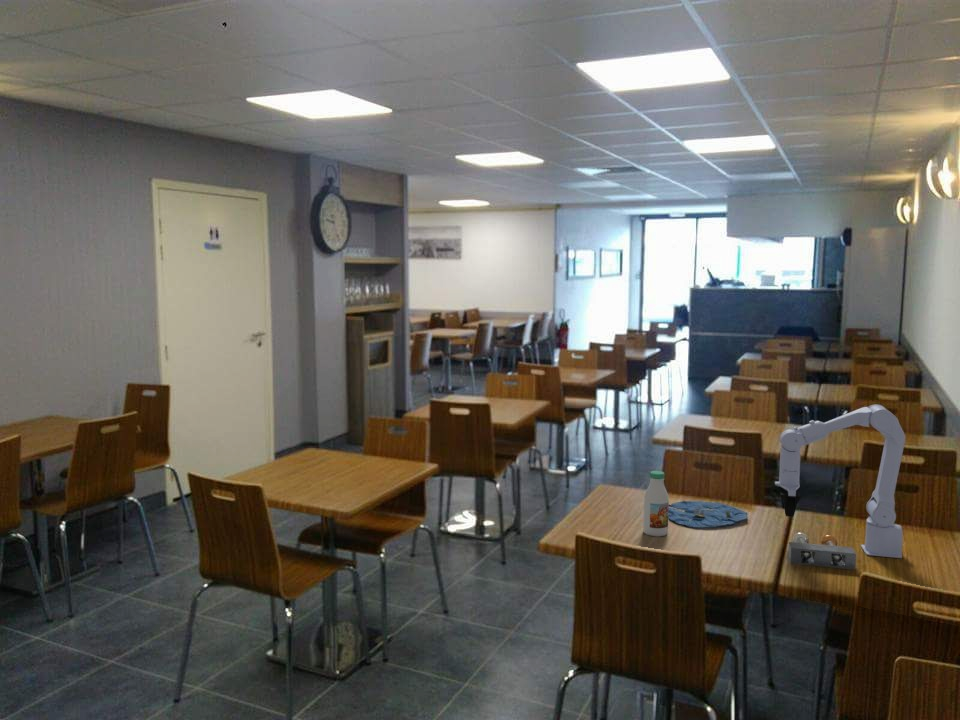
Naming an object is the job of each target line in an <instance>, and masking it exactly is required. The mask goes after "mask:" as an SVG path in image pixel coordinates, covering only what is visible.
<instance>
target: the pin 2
mask: <svg viewBox="0 0 960 720" xmlns="http://www.w3.org/2000/svg"><path fill="white" fill-rule="evenodd" d="M820 545H830V546H839V545H838V541H837V539H836V537H835V536H833V535H831V534H826V535H823V537H821V539H820ZM831 559H833V560H834V561H835V562H840V561H841V560H842V555H841V554H832V557H831Z"/></svg>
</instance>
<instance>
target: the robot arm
mask: <svg viewBox="0 0 960 720" xmlns="http://www.w3.org/2000/svg"><path fill="white" fill-rule="evenodd" d="M856 425H857V426H862V427H867V428H870V425H871V427H872V428H874V429H876V431H877V432H879V433H880V434H881V435H882V436H883V437H884V445H883V448H882V454H881V458H880V459H881V460H880V464H879V470H878V475H877V479H876V484H875V489H874V490H873V491H872V494H871V498H870V499H869V500H868V501H867V502H866V506H865V509H866V512H867V513H868V515H869V516H868V517H867V518H866V522H865V538H864V540H865V542H864V544H861V545H860V547H861V548H862V550H863V551H864V553H865V555H867V556H876V557H886V558H896V559H902V558H903V556H902V552H903V551H902V550H903V537H904V535H903V534H904V533H903V528H902V526H901V525H900V524H897V523H895V522H896V519H897V513H896V511H895V507H896V502H895V500H896V499H895V493H896V487H897V484H898V483H897V482H898V477H899V472H900V466H901V462H902V458H903V452H904V448H905V442H906V434H905V432H904V430H903V428H902V426H901V424H900V422H899V419H898V417H896V415H894V414H893V413H892V412H891V411H890V410H888V409H887V408H886V407H884V406H883V405H882V404H871V405H869V406H863V407H860V408H858V409H855V410H853V411H850V412H848V413H845V414H842V415H840V416H837V417H835V418H833V419H829V420H828V421H825V422H823V421H820V420H813V419H811V420H809V423H807V424H804V425H801V426H799V427H798V426H796V425H795V426H794V427H793V429H789V428H788V429H786V430H784V431H783V432H782V433H781V434H780V436H779V442H780V444H781V447H780V453H779V473H778V475H779V477H778V481H774V485H775V486H776V487H777V489H778V491H779V495H780V502H781V507H782V509H784V514H785V517H789V518H790V517H791V518H792V517H794V516H795V512H796V509H797V508H796V507H797V506H798V503H800V502H799V501H800V500H801V498H802V496H801V494H797V490H798V489H799V488H800V485H801V484H800V473H801V449H802V447H803V446H807V445H810V444H814V443H816V442H819V441H821V440H822V441H823V440H824V439H827V438H828V435H829V434H830V433H832V432H837V431H840V430H843V429H847V428H850V427H853V426H856Z"/></svg>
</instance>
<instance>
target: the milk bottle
mask: <svg viewBox="0 0 960 720" xmlns="http://www.w3.org/2000/svg"><path fill="white" fill-rule="evenodd" d="M665 475H666V474H665V472H664V471H661V470H652V471H650V472H649V480H650V481H649V485H648V487H647V488H646V490H645V494H644V497H643V498H644V500H643V522H642V523H643V527H642V528H643V529H642V530H643V531H642V532H643V533H644V534H645V535H647V536H651V537H665V536H666V535H668V531H669V518H668V508H670V506H669V505H670V504H669V502H670V501H669V500H670V499H669V494H668V492H667V488H666V486H665V483H664V482H665V481H664V480H665Z"/></svg>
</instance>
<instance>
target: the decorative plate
mask: <svg viewBox="0 0 960 720" xmlns="http://www.w3.org/2000/svg"><path fill="white" fill-rule="evenodd" d="M670 504H671V505H670ZM670 504H669V508H668V520H670V521H674V522H675V523H676V524H680V525H684V526H685V525H686V526H687V527H689V528H696V529H697V528H706V527H707V528H719V526H730V525H734V524H736V522H740V521H743V520H746V519H748V518H749V517H748V515H749V514H748V512H746V511H745V510H742V509H740V508H736V507H735V506H731V505H728V504H724V503H721V502H712V501H702V500H699V501H698V500H694V501H692V500H683V501H678V502H677V501H676V502H674V503H670Z"/></svg>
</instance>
